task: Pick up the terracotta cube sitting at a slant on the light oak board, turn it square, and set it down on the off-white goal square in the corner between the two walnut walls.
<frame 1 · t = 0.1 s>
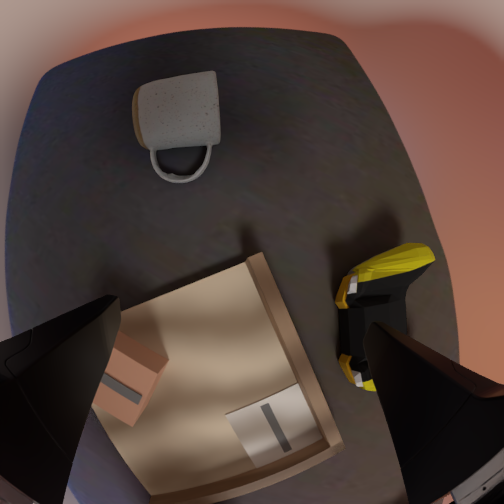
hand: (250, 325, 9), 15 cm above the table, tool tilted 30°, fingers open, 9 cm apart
cube: (132, 369, 20), point 1 cm above the table, touching arena
gaming controller: (375, 323, 25), on the table
ceramic mug: (184, 142, 26), on the table
arena: (198, 402, 21), on the table
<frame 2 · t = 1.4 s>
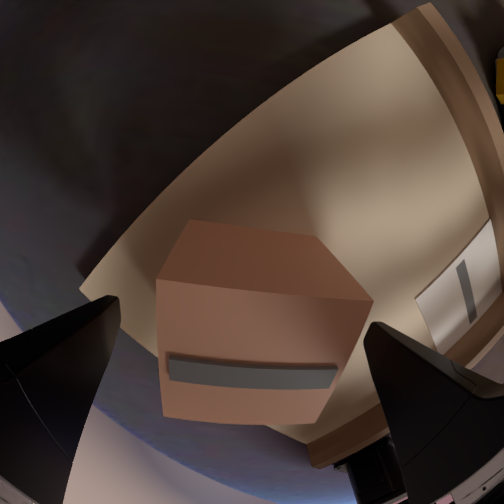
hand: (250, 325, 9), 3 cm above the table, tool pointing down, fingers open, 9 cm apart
cube: (245, 286, 11), point 1 cm above the table, touching arena
arena: (369, 292, 13), on the table
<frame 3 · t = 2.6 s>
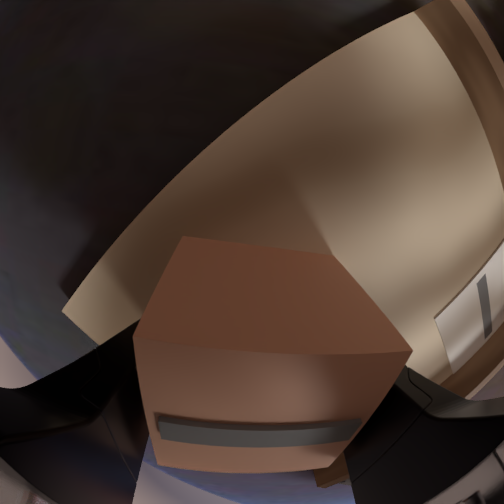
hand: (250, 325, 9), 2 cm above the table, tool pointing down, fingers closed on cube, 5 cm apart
cube: (249, 312, 10), point 1 cm above the table, touching arena, gripper
arena: (386, 313, 11), on the table
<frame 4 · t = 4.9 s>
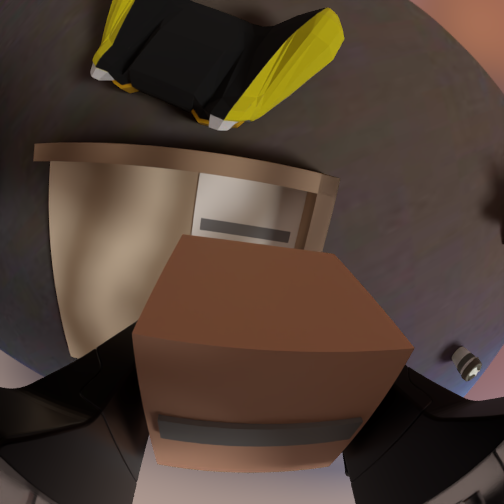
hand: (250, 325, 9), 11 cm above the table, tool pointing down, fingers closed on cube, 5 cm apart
cube: (249, 310, 10), point 10 cm above the table, touching gripper
coffee cup: (455, 351, 28), on the table
gaming controller: (203, 50, 14), on the table
arena: (164, 283, 20), on the table
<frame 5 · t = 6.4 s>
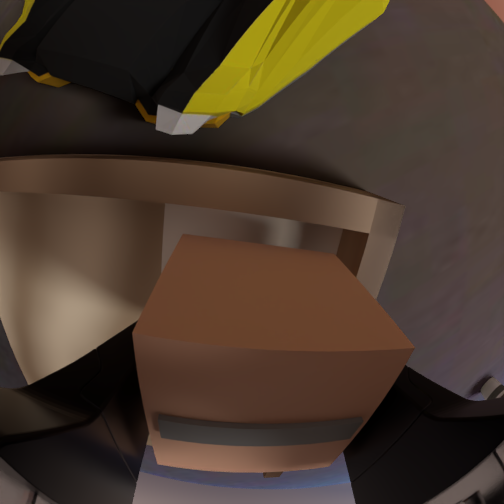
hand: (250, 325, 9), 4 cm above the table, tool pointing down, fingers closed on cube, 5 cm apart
cube: (249, 310, 10), point 3 cm above the table, touching gripper
coffee cup: (484, 381, 21), on the table
gaming controller: (166, 13, 8), on the table
arena: (134, 350, 13), on the table
when the fingers open (3 cm above the table, at t = 7.2 s): cube drops 2 cm, resting on arena.
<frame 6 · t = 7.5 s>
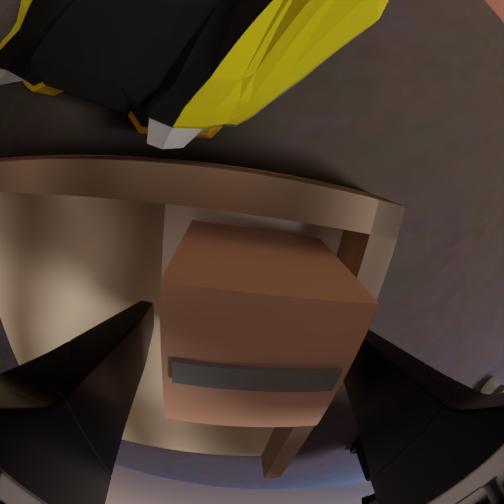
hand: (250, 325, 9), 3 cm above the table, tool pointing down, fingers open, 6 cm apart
cube: (247, 287, 11), point 1 cm above the table, touching arena
coffee cup: (484, 381, 21), on the table
gaming controller: (160, 19, 8), on the table
arena: (134, 351, 13), on the table
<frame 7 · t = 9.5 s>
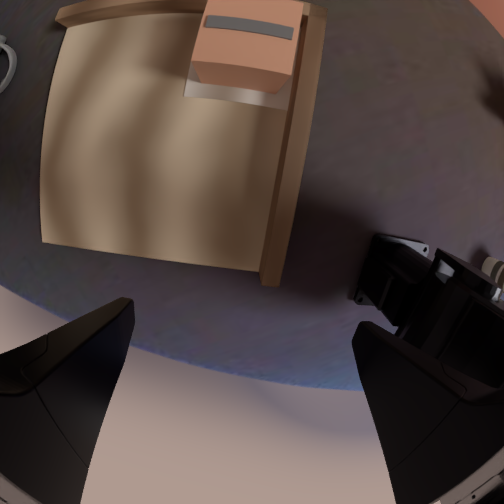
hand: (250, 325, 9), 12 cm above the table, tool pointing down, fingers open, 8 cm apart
cube: (245, 56, 15), point 1 cm above the table, touching arena
coffee cup: (483, 264, 24), on the table
arena: (157, 121, 17), on the table
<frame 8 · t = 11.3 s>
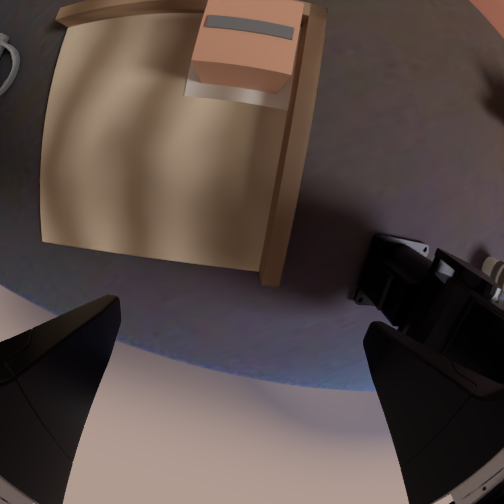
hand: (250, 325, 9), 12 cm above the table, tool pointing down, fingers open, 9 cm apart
cube: (245, 55, 15), point 1 cm above the table, touching arena
coffee cup: (483, 264, 24), on the table
arena: (157, 121, 17), on the table
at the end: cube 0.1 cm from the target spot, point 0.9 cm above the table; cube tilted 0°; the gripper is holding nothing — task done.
